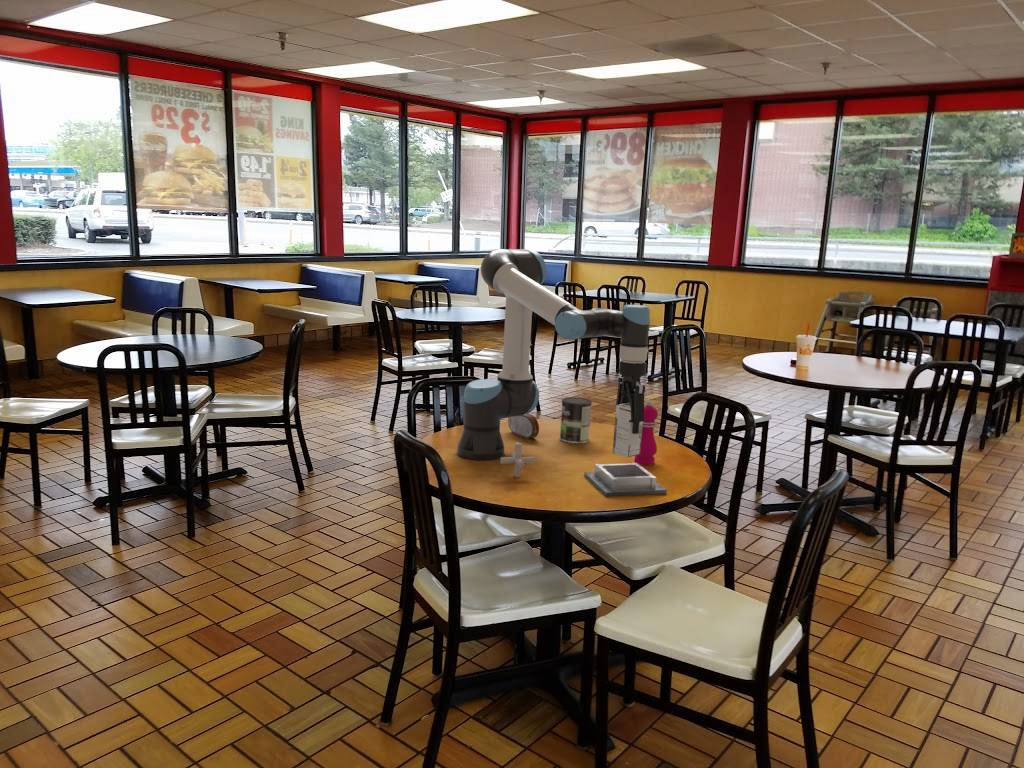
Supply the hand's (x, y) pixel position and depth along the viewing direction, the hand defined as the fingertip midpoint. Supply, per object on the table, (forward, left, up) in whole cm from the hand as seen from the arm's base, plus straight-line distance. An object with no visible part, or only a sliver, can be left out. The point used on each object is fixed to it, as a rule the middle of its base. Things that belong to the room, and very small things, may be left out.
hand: (627, 440), depth 214 cm
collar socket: (0, 0, -13) cm, 13 cm away
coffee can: (+1, +48, -14) cm, 50 cm away
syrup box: (0, 0, -4) cm, 4 cm away
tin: (-16, +55, -14) cm, 59 cm away
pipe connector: (-29, +11, -14) cm, 34 cm away
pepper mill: (+15, +20, -14) cm, 28 cm away
